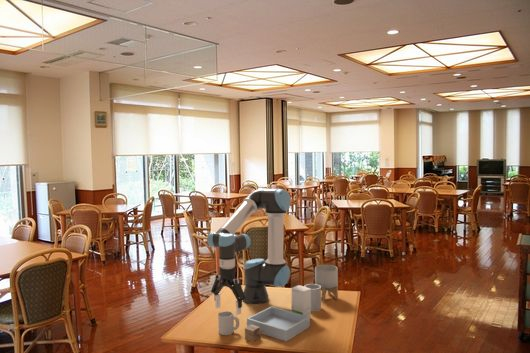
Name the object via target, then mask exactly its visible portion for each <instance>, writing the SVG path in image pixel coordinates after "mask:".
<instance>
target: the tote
mask: <svg viewBox="0 0 530 353" xmlns="http://www.w3.org/2000/svg"><path fill="white" fill-rule="evenodd" d="M310 322H311V317H309V316H305V315H301V314H298V313H294V312H291V310H287V309H284V308H280V307H276V306H273V305H271V306H269V307H268V308H266V309H263V310H261V311H259V312H257V313H255V314H253V315H251V316H249V317H247V318H246V327H248V326H250V325H255V326H258V327H260V334H262V335H265V336H269V337H272V338H274V339H278V340H281V341H284V342H288V341H289V340H291V339H293V338H294V337H296V336H297V335H299V334H301V333H302V332H304V331H305V330H307V329H309V328H310V326H311V323H310Z"/></svg>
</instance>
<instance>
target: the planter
mask: <svg viewBox="0 0 530 353" xmlns="http://www.w3.org/2000/svg"><path fill="white" fill-rule="evenodd" d="M338 271H339V270H338V267H337V266H336V265H334V264H333V265H332V264H320V265H319V264H318V265H316V266H315V267H314V282H315V283H314V284H317V285H320V286H321V302H323V301H325V302H326V296H327V295H328V296H331V295H332V294H333V296H334V300H335V299H337V300H338V299H339V297H338V296H339V292H338V290H339V287H338V285H339V282H338V281H339V277H338V275H339V274H338Z"/></svg>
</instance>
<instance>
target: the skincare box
mask: <svg viewBox="0 0 530 353" xmlns="http://www.w3.org/2000/svg"><path fill="white" fill-rule="evenodd" d="M304 286H305V285H304ZM304 286H303V285H299V284H298V285H296V286H293V287H292V288H291V310H290V312H294V313H298V314H301V315H305V316H309V317H310V318H312V317H311V316H312V315H311V313H312V311H311V289H310V288H307V287H304Z"/></svg>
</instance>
